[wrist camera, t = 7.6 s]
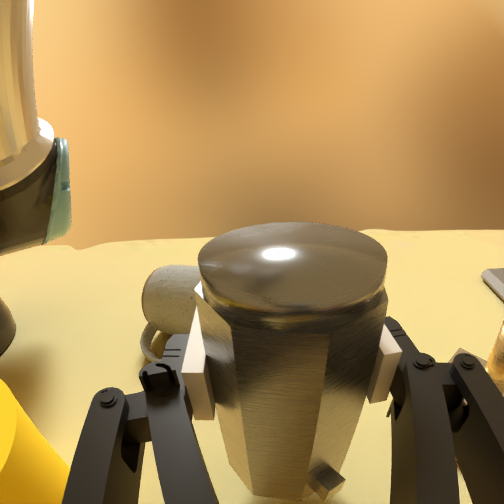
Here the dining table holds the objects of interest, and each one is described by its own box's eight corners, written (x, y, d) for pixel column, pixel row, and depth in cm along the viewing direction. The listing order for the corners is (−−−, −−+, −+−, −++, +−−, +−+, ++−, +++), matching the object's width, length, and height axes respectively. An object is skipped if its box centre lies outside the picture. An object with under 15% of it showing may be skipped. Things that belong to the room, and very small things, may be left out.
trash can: (208, 433, 15) (165, 238, 11) (288, 394, 18) (289, 210, 14) (282, 529, 9) (299, 349, 5) (371, 467, 12) (445, 261, 8)
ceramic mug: (183, 308, 36) (171, 249, 33) (244, 320, 33) (237, 255, 30) (126, 359, 27) (103, 292, 24) (194, 385, 24) (175, 311, 21)
